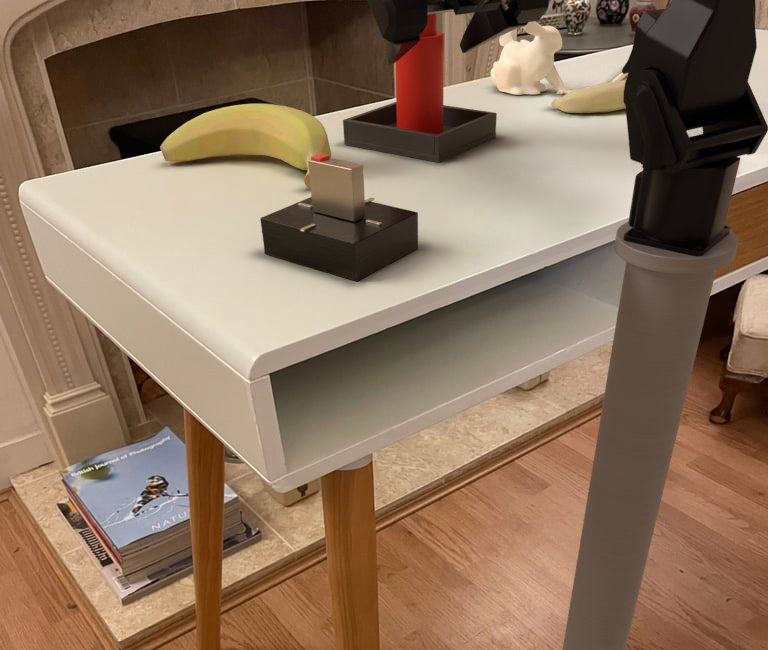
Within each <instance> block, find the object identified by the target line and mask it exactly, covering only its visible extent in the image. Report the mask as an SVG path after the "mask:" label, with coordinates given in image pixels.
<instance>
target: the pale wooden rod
mask: <svg viewBox="0 0 768 650" xmlns="http://www.w3.org/2000/svg"><path fill="white" fill-rule="evenodd" d="M627 76H628V73H626V74H623V73H622V72H621V73H619V74H618V75H617V76H615V78H614V79H612V80H611V81H610V82H615V81H621V80H624V79H626V78H627Z"/></svg>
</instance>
